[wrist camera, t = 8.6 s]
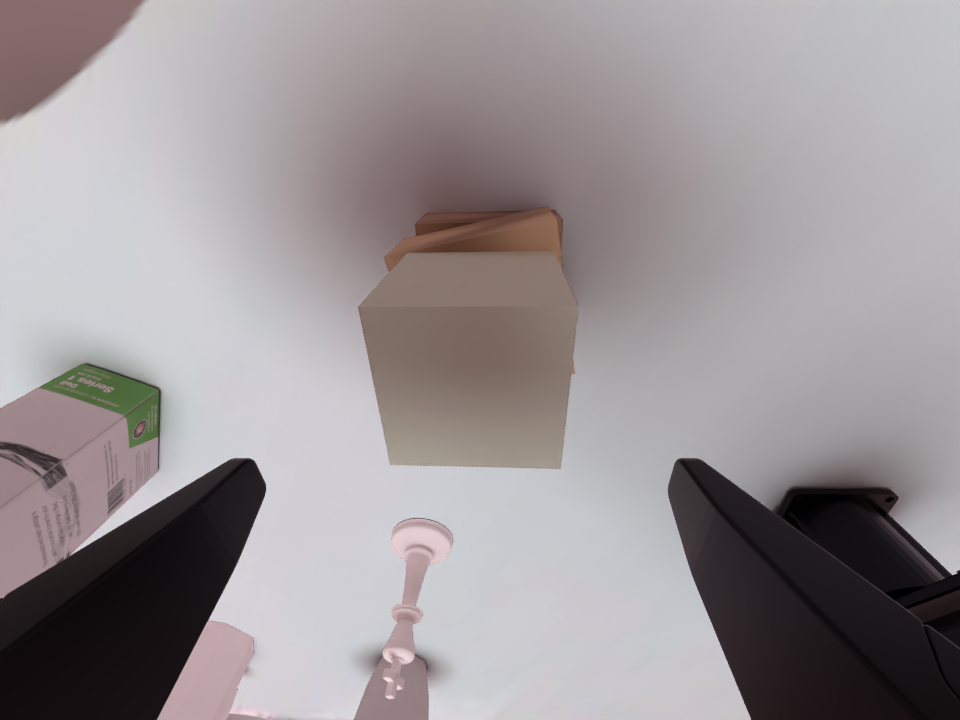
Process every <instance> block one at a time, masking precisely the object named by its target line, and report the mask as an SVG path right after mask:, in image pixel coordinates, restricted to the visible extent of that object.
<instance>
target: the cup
mask: <svg viewBox="0 0 960 720" xmlns="http://www.w3.org/2000/svg"><path fill="white" fill-rule="evenodd" d="M391 665H392V663H390V662H388V661H387V660H386V659H385V658H384V657H383V656H382V657H381V659H380V661H379V663H378V665H377V667H376V669H375V671H374V673H373V675H372V677H371V679H370V681H369V683H368V685H367V687H366V689H365V692H364V695H363V697H362V700H361V702H360V705H359V708H358V710H357V713H356V715H355V718H354V720H428V708H429V693H428V684H427V674H426V664H425V662H424V661H423V660H422V659H421V658H419V657H417V656H415V657H414V659H413V661H412V662H410V663H408V664H404V665H402V666H401V671H400V677H402V678H403V679H404V680H405V681H404V686H403V689H401V690H397V691H396V696H395V699H388V698H386V697H385V693H386V688H387V683H388V682H387V681H385V680H384V679H383V678H382V677H383V672H384V669H386V668H391Z"/></svg>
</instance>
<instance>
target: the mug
mask: <svg viewBox="0 0 960 720" xmlns="http://www.w3.org/2000/svg"><path fill="white" fill-rule="evenodd" d="M253 654H254V642H253V638H252V637H250V636H249V635H247V634H245V633H243V632H241V631H240V630H238V629H236V628H234V627H232V626H230V625H229V624H224V623H218V622H212V621H208V622H207V624H206V626H205V628H204V629H203V631H202V633H201V635H200V637H199V639H198V641H197V643H196V645H195V647H194V649H193V651H192V653H191V655H190V657H189V659H188V661H187V662H186V664H185V666H184V668H183V670H182V672H181V674H180V676H179V678H178V680H177V682H176V684H175V686H174V688H173V690H172V692H171V694H170V696H169V697H168V699H167V701H166V703H165V705H164V707H163V709H162V711H161V713H160V715H159V717H158V719H157V720H227V718H228V715H229V712H230V710H231V707H232V704H233V702H234V699H235V696H236V693H237V691H238V688H237V687H238V684H239V682H240V680H241V678H242V676H243V674H244V672H245V670H246V668H247V666H248V664H249V662H250V660H251V658H252V656H253Z"/></svg>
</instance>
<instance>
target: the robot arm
mask: <svg viewBox="0 0 960 720" xmlns="http://www.w3.org/2000/svg"><path fill="white" fill-rule="evenodd" d="M265 493H266V484H265V481H264V479H263V477H262V475H261V473H260V471H259V469H258V467H257V464H256V463H255V461H254V460H252V459H250V458H234V459H230V460H228V461H227V462H225V463H223V464H222V465H220V466H218V467H217V468H215V469H213V470H212V471H210V472H209V473H207V474H205V475H204V476H202V477H200V478H199V479H197V480H195V481H194V482H192V483H190V484H189V485H187V486H185V487H184V488H182V489H180V490H179V491H177V492H175V493H174V494H172V495H170V496H169V497H167V498H165V499H164V500H162V501H160V502H159V503H157V504H155V505H154V506H152V507H150V508H149V509H147V510H145V511H144V512H142V513H140V514H139V515H137V516H135V517H134V518H132V519H130V520H129V521H127V522H125V523H124V524H122V525H120V526H119V527H117V528H115V529H114V530H112V531H111V532H109V533H107V534H106V535H104V536H102V537H101V538H99V539H97V540H96V541H94V542H92V543H91V544H89V545H87V546H86V547H84V548H82V549H81V550H79V551H77V552H76V553H74V554H72V555H71V556H69V557H67V558H66V559H64V560H62V561H61V562H59V563H57V564H56V565H54V566H52V567H51V568H49V569H47V570H46V571H44V572H42V573H41V574H39V575H37V576H36V577H34V578H32V579H31V580H29V581H27V582H26V583H24V584H22V585H21V586H19V587H17V588H16V589H14V590H13V591H11V592H9V593H8V594H6V595H5V597H4V598H0V720H157V719H158V717H159V715H160V713H161V711H162V709H163V707H164V705H165V703H166V701H167V699H168V697H169V696H170V694H171V692H172V690H173V688H174V686H175V684H176V682H177V680H178V678H179V676H180V674H181V672H182V670H183V668H184V666H185V664H186V662H187V661H188V659H189V657H190V655H191V653H192V651H193V649H194V647H195V645H196V643H197V641H198V639H199V637H200V635H201V633H202V631H203V629H204V628H205V626H206V624H207V622H208V620H209V618H210V616H211V614H212V612H213V610H214V608H215V606H216V604H217V602H218V600H219V598H220V596H221V594H222V593H223V591H224V589H225V587H226V585H227V583H228V581H229V579H230V577H231V575H232V573H233V571H234V569H235V567H236V565H237V563H238V560H239V558H240V556H241V553H242V551H243V549H244V546H245V544H246V541H247V539H248V536H249V534H250V531H251V529H252V526H253V524H254V521H255V519H256V516H257V514H258V511H259V509H260V506H261V504H262V502H263V499H264V497H265ZM668 496H669V500H670V503H671V507H672V510H673V514H674V517H675V520H676V524H677V527H678V531H679V534H680V537H681V541H682V544H683V547H684V551H685V554H686V558H687V561H688V564H689V567H690V570H691V573H692V576H693V579H694V581H695V584H696V586H697V589H698V591H699V594H700V596H701V599H702V601H703V603H704V606H705V608H706V611H707V613H708V616H709V618H710V620H711V623H712V625H713V628H714V630H715V633H716V635H717V637H718V640H719V642H720V645H721V647H722V650H723V652H724V654H725V657H726V659H727V662H728V664H729V667H730V669H731V671H732V674H733V676H734V679H735V681H736V684H737V686H738V688H739V691H740V693H741V696H742V698H743V701H744V703H745V705H746V708H747V710H748V713H749V715H750V718H751V720H960V570H959V571H956V572H957V573H958V574H955V575H952V574H951V573H949V572H948V571H947V570H946V569H945V568H944V567H943V566H942V565H941V564H940V563H939V562H938V561H937V560H936V559H935V558H934V557H933V556H932V555H931V554H930V553H929V552H927V551H926V550H925V549H924V548H923V547H922V546H921V545H920V544H919V543H918V542H917V541H916V540H915V539H914V538H913V537H912V536H911V535H910V534H909V533H908V532H907V531H905V530H904V529H903V528H902V527H901V526H900V525H899V524H898V523H897V522H896V521H895V520H894V519H893V518H892V517H891V516H890V515H889V514H888V512H889V511H890V510H891V508H892V507H893V506H894V504H895V503H896V502H897V500H898V496H897V495H896V494H895V493H894V492H893V491H891V490H882V489H795V490H792V491H791V492H789V494H788V495H787V497H786V499H785V501H784V503H783V505H782V507H781V509H780V511H779V513H778V515H776V514H775V513H774V512H772V511H771V510H769V509H768V508H767V507H765V506H764V505H763V504H761V503H760V502H758V501H757V500H756V499H754V498H753V497H752V496H750V495H749V494H747V493H746V492H745V491H743V490H742V489H741V488H739V487H738V486H737V485H735V484H734V483H732V482H731V481H730V480H728V479H727V478H726V477H724V476H723V475H721V474H720V473H719V472H717V471H716V470H715V469H713V468H712V467H710V466H709V465H708V464H706V463H705V462H704V461H702V460H700V459H697V458H680V459H678V460H676V462H675V464H674V467H673V471H672V474H671V478H670V481H669V485H668Z"/></svg>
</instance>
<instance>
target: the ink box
mask: <svg viewBox="0 0 960 720" xmlns="http://www.w3.org/2000/svg"><path fill="white" fill-rule="evenodd" d="M158 414H159V391H158V389H156V388H154V387H151V386H148V385H145V384H143V383H140V382H137V381H134V380H131V379H128V378H125V377H123V376H120V375H117V374H114V373H111V372H108V371H105V370H102V369H98V368H95V367H92V366H89V365H85V364H81V365H79V366H77V367H76V368H74V369H72V370H70V371H68V372H66V373H64V374H63V375H61V376H59V377H57V378H55V379H53V380H52V381H50V382H48V383H46V384H44V385H42V386H40V387H39V388H37V389H35V390H33V391H31V392H29V393H28V394H26V395H24V396H22V397H20V398H18V399H17V400H15V401H13V402H11V403H9V404H7V405H5V406H4V407H2V408H0V598H4V597H5V595H6V594H8V593H9V592H11V591H13V590H14V589H16V588H17V587H19V586H21V585H22V584H24V583H26V582H27V581H29V580H31V579H32V578H34V577H36V576H37V575H39V574H41V573H42V572H44V571H46V570H47V569H49V568H51V567H52V566H54V565H56V564H57V563H59V562H61V561H62V560H64V559H66V558H67V557H69V556H70V555H71V554H72V553H73V552H74V551H75V550H76V549H77V548H78V547H79V546H80V545H81V544H82V543H83V542H84V541H85V540H87V539H88V538H89V537H90V536H91V535H92V534H93V533H94V532H95V531H96V530H97V529H98V528H99V527H100V526H101V525H102V524H103V523H104V522H105V521H106V520H108V519H109V518H110V517H111V516H112V515H113V514H114V513H115V512H116V511H117V510H118V509H119V508H120V507H121V506H122V505H123V504H124V503H125V502H126V501H127V500H129V499H130V498H131V497H132V496H133V495H134V494H135V493H136V492H137V491H138V490H139V489H140V488H141V487H142V486H143V485H144V484H145V483H146V482H147V481H148V480H149V479H151V478H152V477H153V476H154V475H155V474H156V473H157V471H158Z"/></svg>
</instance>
